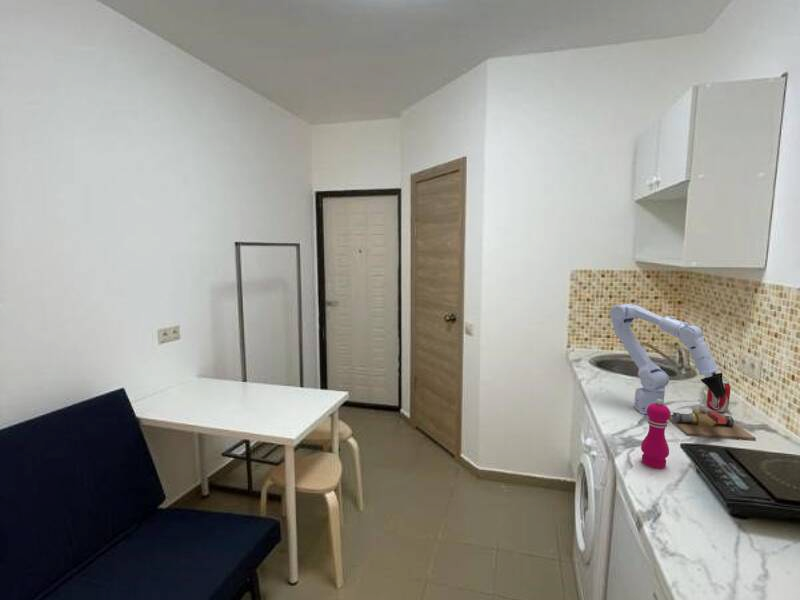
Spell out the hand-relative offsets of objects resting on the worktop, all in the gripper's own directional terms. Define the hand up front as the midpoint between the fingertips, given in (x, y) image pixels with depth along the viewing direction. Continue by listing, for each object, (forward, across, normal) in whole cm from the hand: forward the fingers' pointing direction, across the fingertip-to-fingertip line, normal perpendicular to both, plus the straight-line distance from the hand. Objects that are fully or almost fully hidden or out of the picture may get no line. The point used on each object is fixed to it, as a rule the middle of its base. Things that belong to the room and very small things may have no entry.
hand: (721, 396), depth 148 cm
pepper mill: (+11, -36, +20) cm, 43 cm away
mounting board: (+10, +4, +9) cm, 14 cm away
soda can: (+7, +27, +7) cm, 28 cm away
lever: (+6, -1, +5) cm, 8 cm away
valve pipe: (+9, +4, +10) cm, 14 cm away
